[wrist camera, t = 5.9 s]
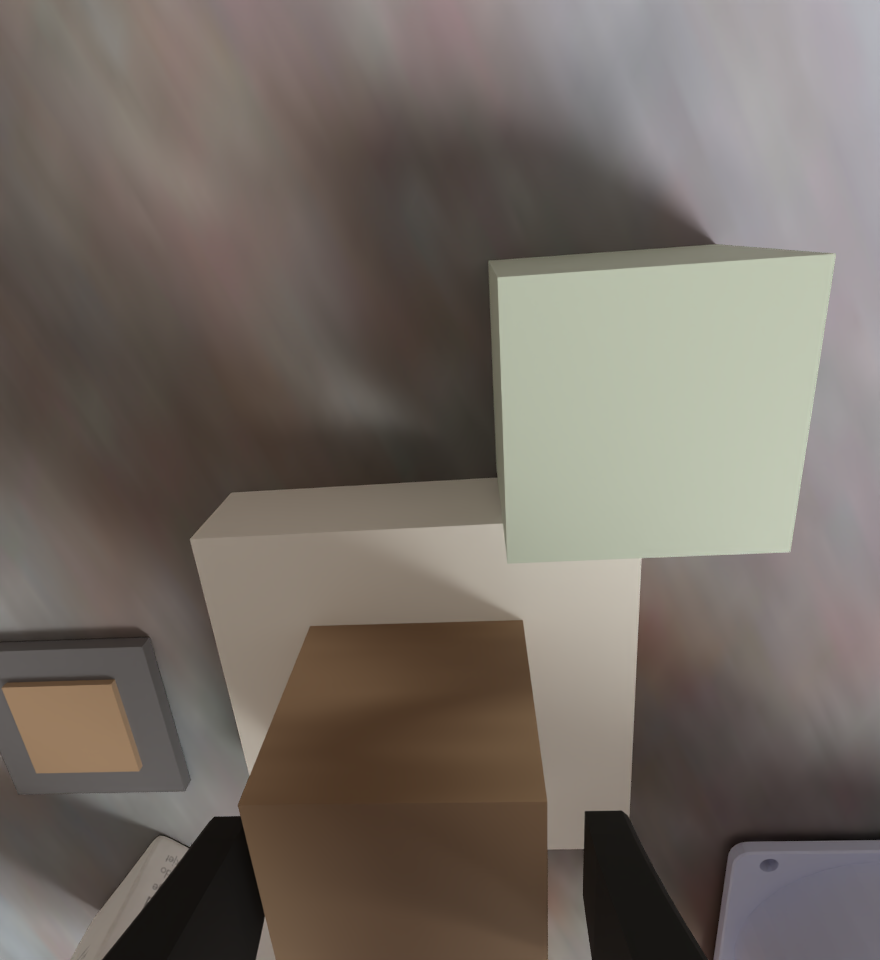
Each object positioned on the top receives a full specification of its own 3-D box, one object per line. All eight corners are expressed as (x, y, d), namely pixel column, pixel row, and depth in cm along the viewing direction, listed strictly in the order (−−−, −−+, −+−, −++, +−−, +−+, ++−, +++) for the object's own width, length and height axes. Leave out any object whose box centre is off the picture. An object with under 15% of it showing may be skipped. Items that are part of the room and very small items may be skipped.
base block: (611, 462, 15) (643, 516, 12) (604, 753, 18) (627, 848, 15) (239, 482, 16) (189, 539, 13) (298, 760, 19) (268, 853, 16)
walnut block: (522, 619, 13) (547, 801, 9) (525, 782, 15) (547, 1000, 11) (309, 625, 13) (238, 804, 9) (336, 785, 15) (284, 998, 11)
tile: (149, 637, 17) (138, 651, 16) (190, 780, 18) (182, 797, 18) (-31, 643, 17) (-49, 658, 16) (27, 783, 19) (13, 800, 18)
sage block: (713, 244, 13) (836, 254, 8) (696, 456, 14) (789, 551, 10) (488, 260, 13) (497, 277, 9) (496, 466, 15) (507, 564, 10)
